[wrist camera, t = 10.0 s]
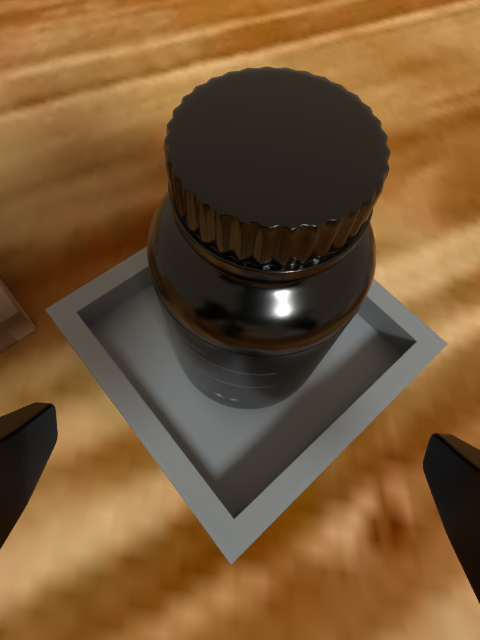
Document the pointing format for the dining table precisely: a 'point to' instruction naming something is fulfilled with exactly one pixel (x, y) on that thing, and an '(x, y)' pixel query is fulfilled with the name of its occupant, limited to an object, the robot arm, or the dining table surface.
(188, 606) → the dining table surface
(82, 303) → the grey tray
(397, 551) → the dining table surface
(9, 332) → the walnut collar
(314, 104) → the supplement bottle
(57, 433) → the robot arm
